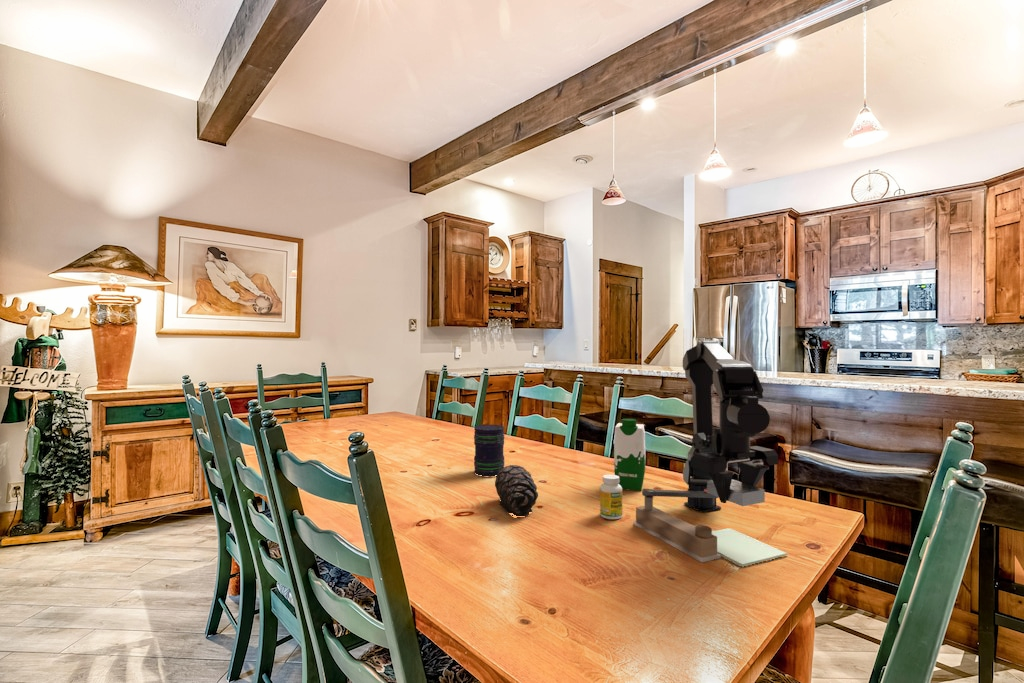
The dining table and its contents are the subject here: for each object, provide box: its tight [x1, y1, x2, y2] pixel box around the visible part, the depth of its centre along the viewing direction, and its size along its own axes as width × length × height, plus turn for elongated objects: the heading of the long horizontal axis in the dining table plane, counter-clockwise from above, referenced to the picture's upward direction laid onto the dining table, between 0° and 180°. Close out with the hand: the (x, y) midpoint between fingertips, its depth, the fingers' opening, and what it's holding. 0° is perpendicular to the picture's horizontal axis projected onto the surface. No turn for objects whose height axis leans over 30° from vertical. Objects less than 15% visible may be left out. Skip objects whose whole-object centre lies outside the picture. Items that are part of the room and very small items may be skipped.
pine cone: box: [494, 464, 539, 517], centre depth 121 cm, size 10×18×10 cm, turn 19°
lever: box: [641, 488, 719, 499], centre depth 108 cm, size 16×3×2 cm, turn 84°
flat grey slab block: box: [707, 478, 766, 507], centre depth 97 cm, size 6×9×2 cm, turn 23°
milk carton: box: [613, 418, 646, 492], centre depth 139 cm, size 9×9×20 cm
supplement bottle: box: [599, 474, 623, 520], centre depth 115 cm, size 5×5×10 cm
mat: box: [712, 527, 788, 568], centre depth 97 cm, size 12×14×1 cm
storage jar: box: [473, 424, 505, 476], centre depth 154 cm, size 10×10×15 cm
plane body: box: [632, 496, 722, 563], centre depth 101 cm, size 21×5×7 cm, turn 23°
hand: (734, 500), depth 97 cm, fingers closed on flat grey slab block, 6 cm apart
